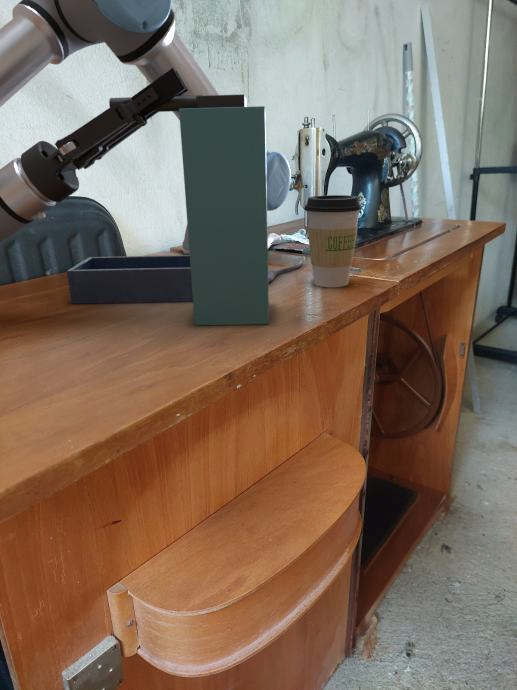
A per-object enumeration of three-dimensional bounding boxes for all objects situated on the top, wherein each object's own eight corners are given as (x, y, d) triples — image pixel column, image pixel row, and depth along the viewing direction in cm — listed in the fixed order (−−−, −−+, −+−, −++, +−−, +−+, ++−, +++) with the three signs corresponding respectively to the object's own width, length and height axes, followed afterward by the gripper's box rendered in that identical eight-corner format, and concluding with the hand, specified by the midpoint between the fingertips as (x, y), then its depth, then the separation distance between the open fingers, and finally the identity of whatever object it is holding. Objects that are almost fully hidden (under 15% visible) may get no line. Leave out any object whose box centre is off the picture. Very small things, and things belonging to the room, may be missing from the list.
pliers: (301, 257, 111) (301, 280, 92) (301, 261, 111) (301, 284, 92) (256, 258, 111) (247, 280, 93) (256, 262, 112) (247, 285, 93)
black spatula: (246, 110, 70) (246, 95, 69) (244, 107, 64) (244, 91, 64) (118, 114, 70) (116, 99, 70) (105, 111, 65) (103, 96, 64)
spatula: (270, 264, 108) (270, 251, 107) (251, 264, 108) (250, 251, 107) (281, 243, 134) (281, 232, 133) (266, 243, 134) (266, 232, 133)
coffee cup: (357, 290, 88) (361, 200, 83) (300, 289, 90) (300, 200, 85) (359, 277, 97) (362, 194, 92) (307, 276, 99) (307, 195, 94)
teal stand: (268, 305, 81) (265, 110, 71) (268, 324, 73) (264, 106, 63) (202, 307, 81) (189, 113, 71) (194, 325, 73) (178, 108, 63)
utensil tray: (214, 284, 95) (213, 254, 93) (208, 301, 85) (206, 268, 83) (93, 286, 96) (88, 257, 94) (71, 303, 85) (66, 271, 83)
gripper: (75, 199, 79) (203, 110, 74) (34, 210, 65) (189, 102, 60) (43, 154, 76) (174, 60, 72) (-6, 156, 63) (151, 39, 58)
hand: (180, 79), depth 66 cm, fingers closed on black spatula, 2 cm apart
